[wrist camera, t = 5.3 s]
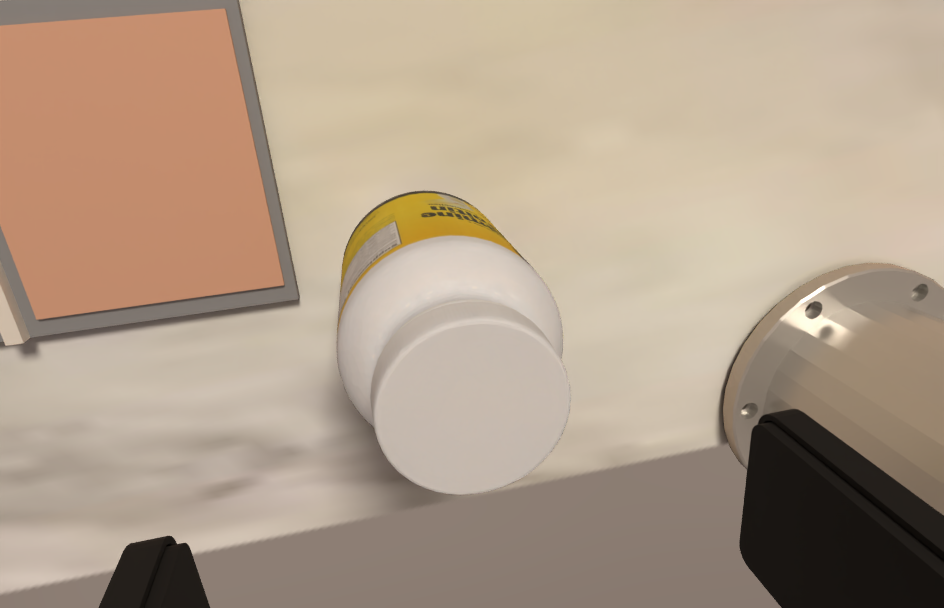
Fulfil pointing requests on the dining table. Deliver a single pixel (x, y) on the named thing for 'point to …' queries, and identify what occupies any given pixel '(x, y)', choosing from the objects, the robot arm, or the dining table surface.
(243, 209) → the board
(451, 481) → the pill bottle
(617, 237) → the dining table surface
